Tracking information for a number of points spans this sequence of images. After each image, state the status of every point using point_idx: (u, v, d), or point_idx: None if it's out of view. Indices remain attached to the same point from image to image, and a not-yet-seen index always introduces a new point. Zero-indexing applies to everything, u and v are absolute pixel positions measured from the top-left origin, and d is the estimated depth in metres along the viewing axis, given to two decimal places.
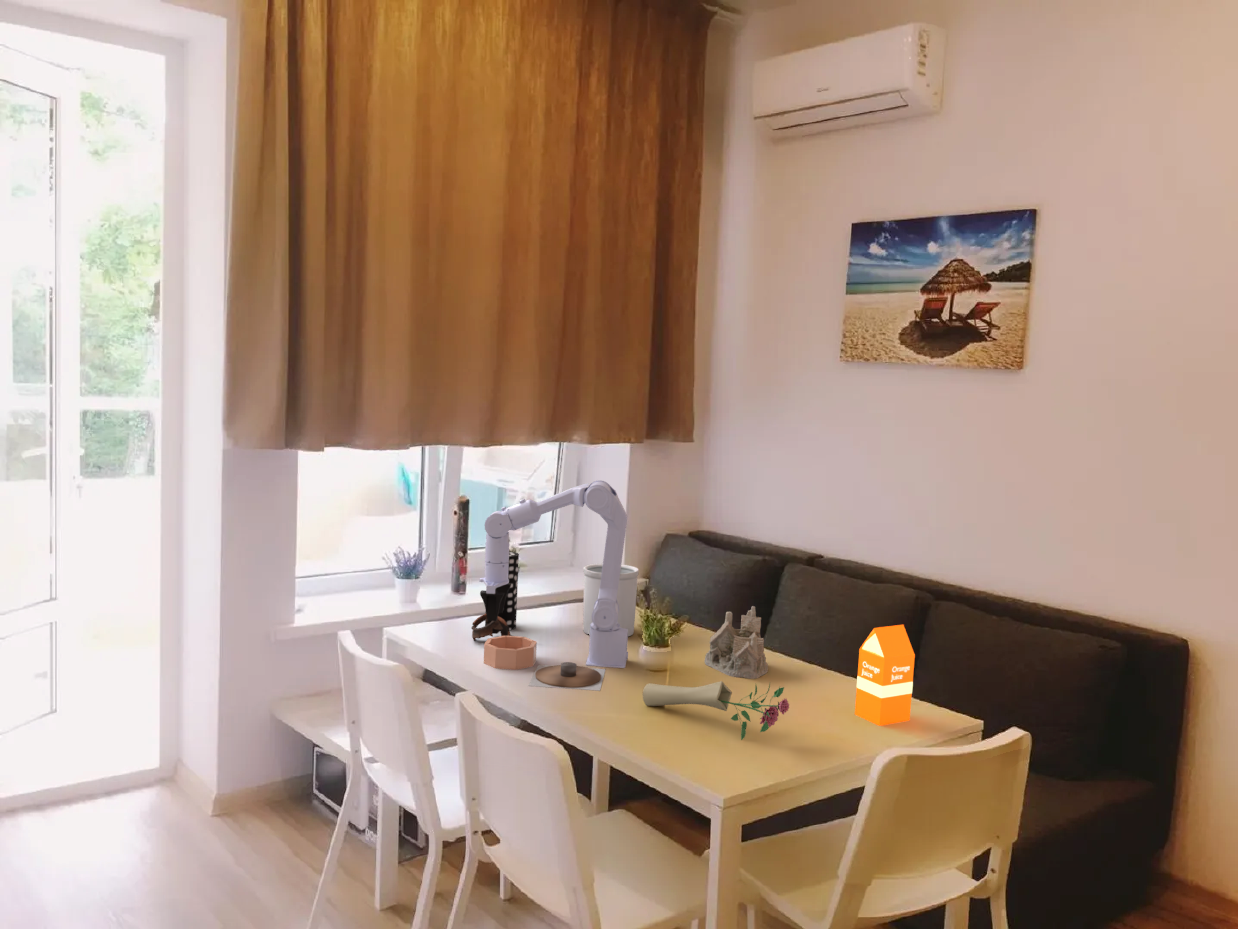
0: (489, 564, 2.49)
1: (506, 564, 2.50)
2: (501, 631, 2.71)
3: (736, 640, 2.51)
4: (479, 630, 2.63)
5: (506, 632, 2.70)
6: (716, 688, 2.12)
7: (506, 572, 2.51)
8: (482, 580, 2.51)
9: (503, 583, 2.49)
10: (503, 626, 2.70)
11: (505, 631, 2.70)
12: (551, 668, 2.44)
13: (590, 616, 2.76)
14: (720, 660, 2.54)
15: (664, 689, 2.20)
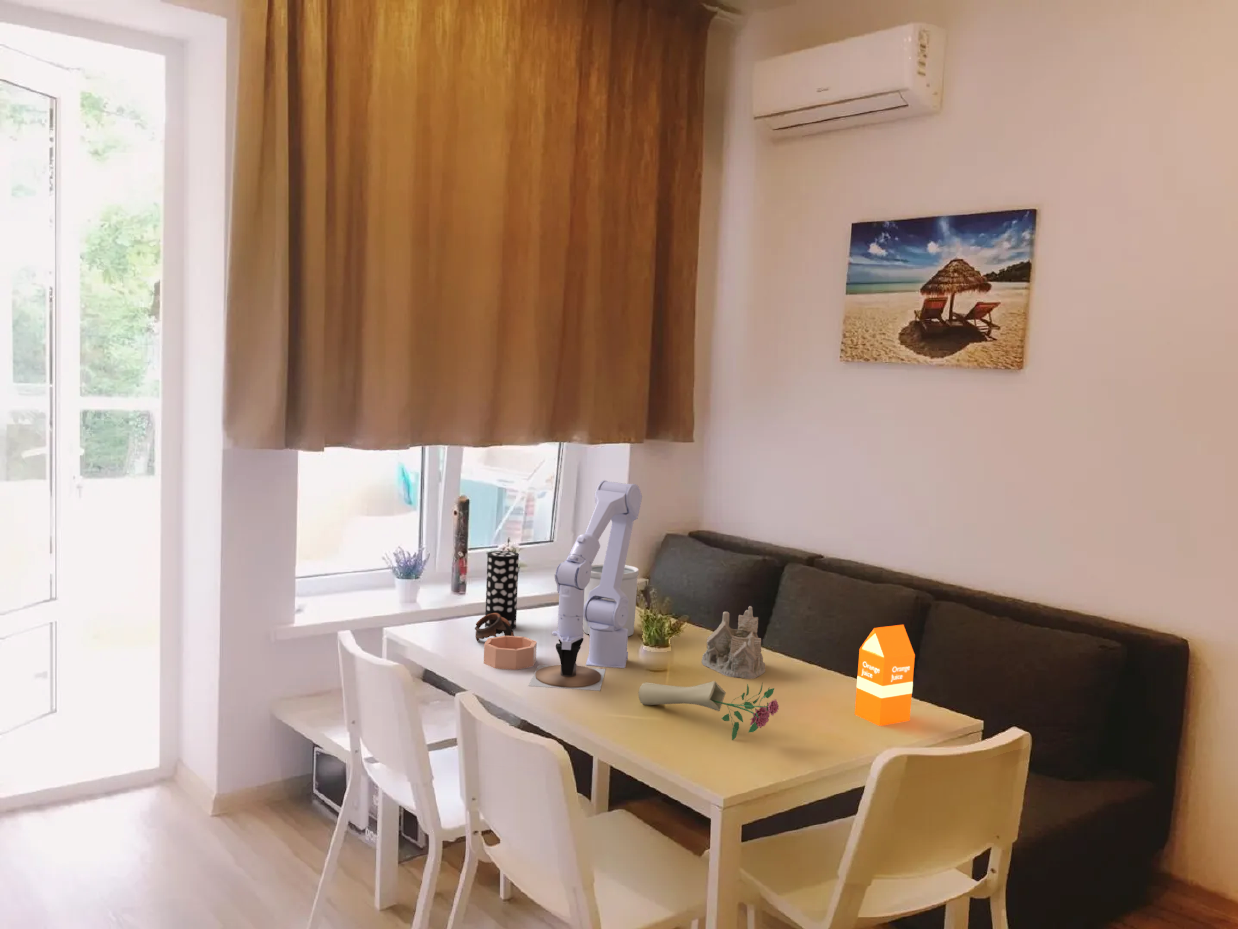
0: (563, 617, 2.36)
1: (581, 617, 2.37)
2: (504, 631, 2.71)
3: (733, 640, 2.51)
4: (483, 631, 2.63)
5: (509, 632, 2.69)
6: (708, 688, 2.12)
7: (581, 626, 2.37)
8: (555, 634, 2.38)
9: (578, 638, 2.36)
10: (506, 626, 2.70)
11: (508, 631, 2.70)
12: (551, 668, 2.44)
13: None
14: (717, 660, 2.54)
15: (659, 688, 2.20)
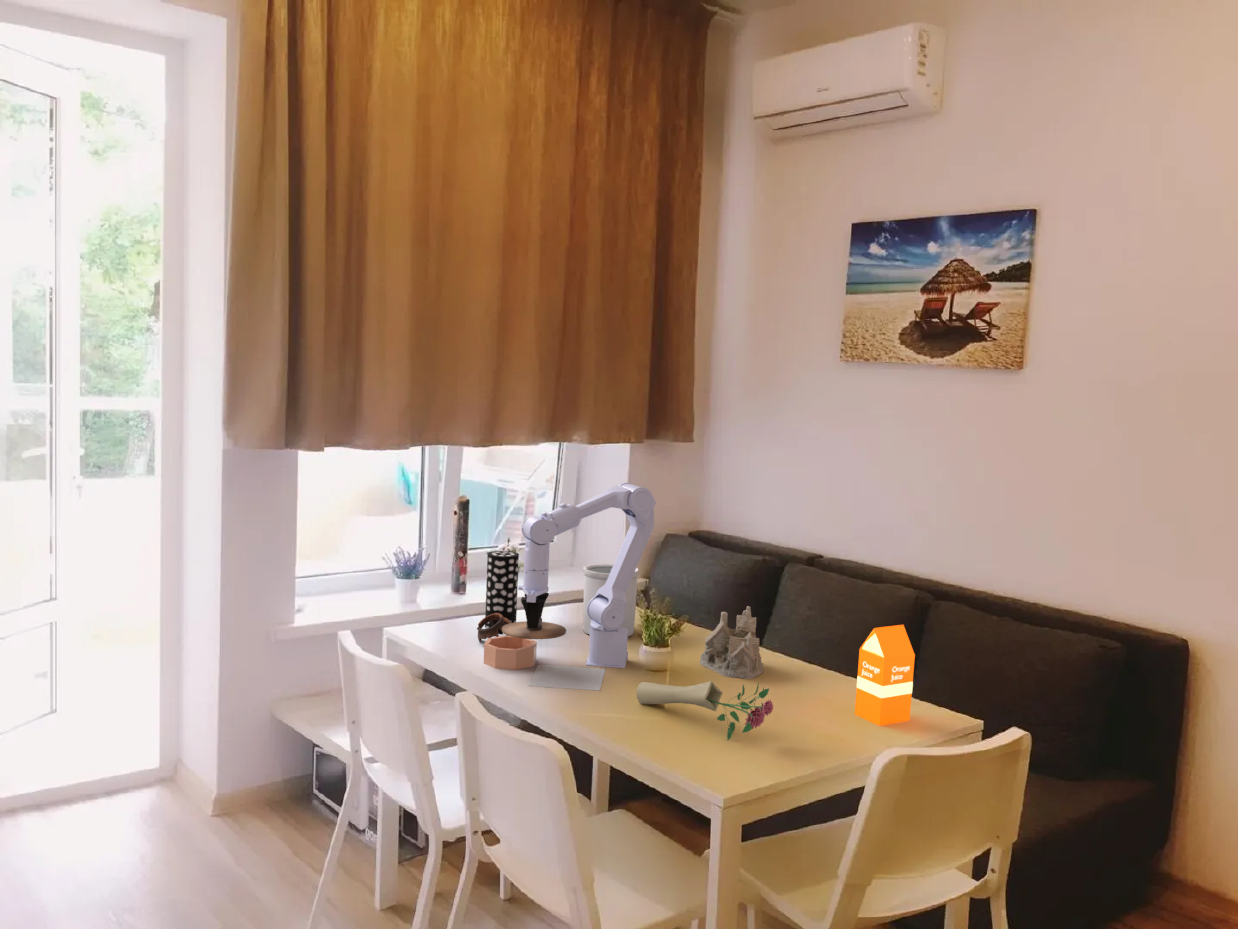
0: (529, 572, 2.41)
1: (546, 572, 2.42)
2: None
3: (732, 640, 2.51)
4: (485, 631, 2.63)
5: None
6: (705, 688, 2.12)
7: (546, 580, 2.42)
8: (521, 588, 2.43)
9: (543, 591, 2.41)
10: None
11: None
12: (518, 623, 2.49)
13: None
14: (716, 660, 2.54)
15: (657, 688, 2.21)
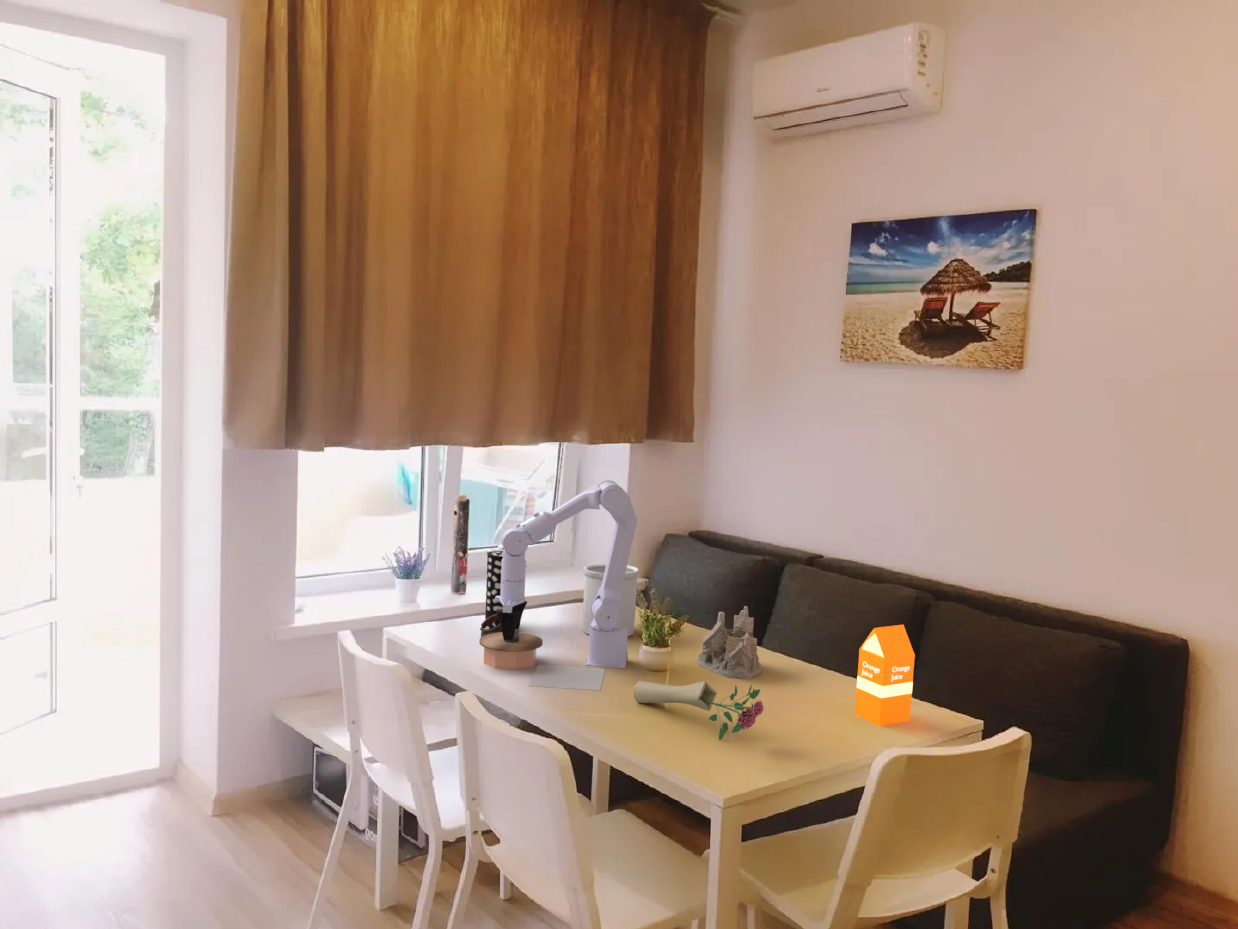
0: (505, 582, 2.45)
1: (522, 582, 2.46)
2: None
3: (729, 640, 2.51)
4: (488, 631, 2.62)
5: None
6: (698, 688, 2.12)
7: (522, 590, 2.46)
8: (498, 598, 2.47)
9: (519, 602, 2.45)
10: None
11: None
12: (496, 634, 2.53)
13: (590, 616, 2.76)
14: (713, 660, 2.54)
15: (653, 687, 2.21)
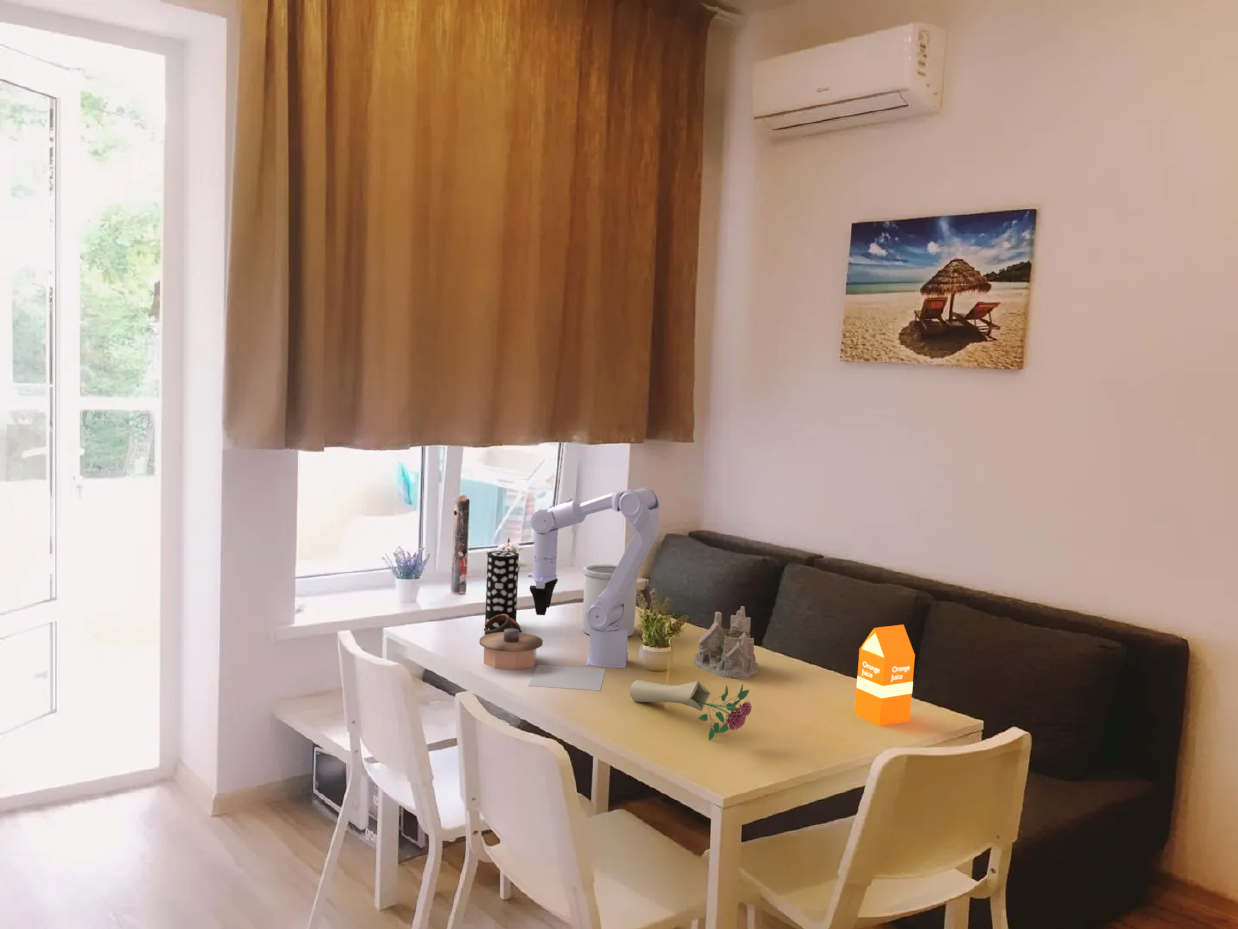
0: (538, 560, 2.55)
1: (554, 560, 2.56)
2: None
3: (726, 640, 2.50)
4: (492, 632, 2.62)
5: None
6: (691, 688, 2.12)
7: (554, 568, 2.57)
8: (531, 575, 2.57)
9: (551, 578, 2.55)
10: (515, 627, 2.69)
11: None
12: (496, 634, 2.53)
13: None
14: (710, 660, 2.53)
15: (649, 686, 2.22)
